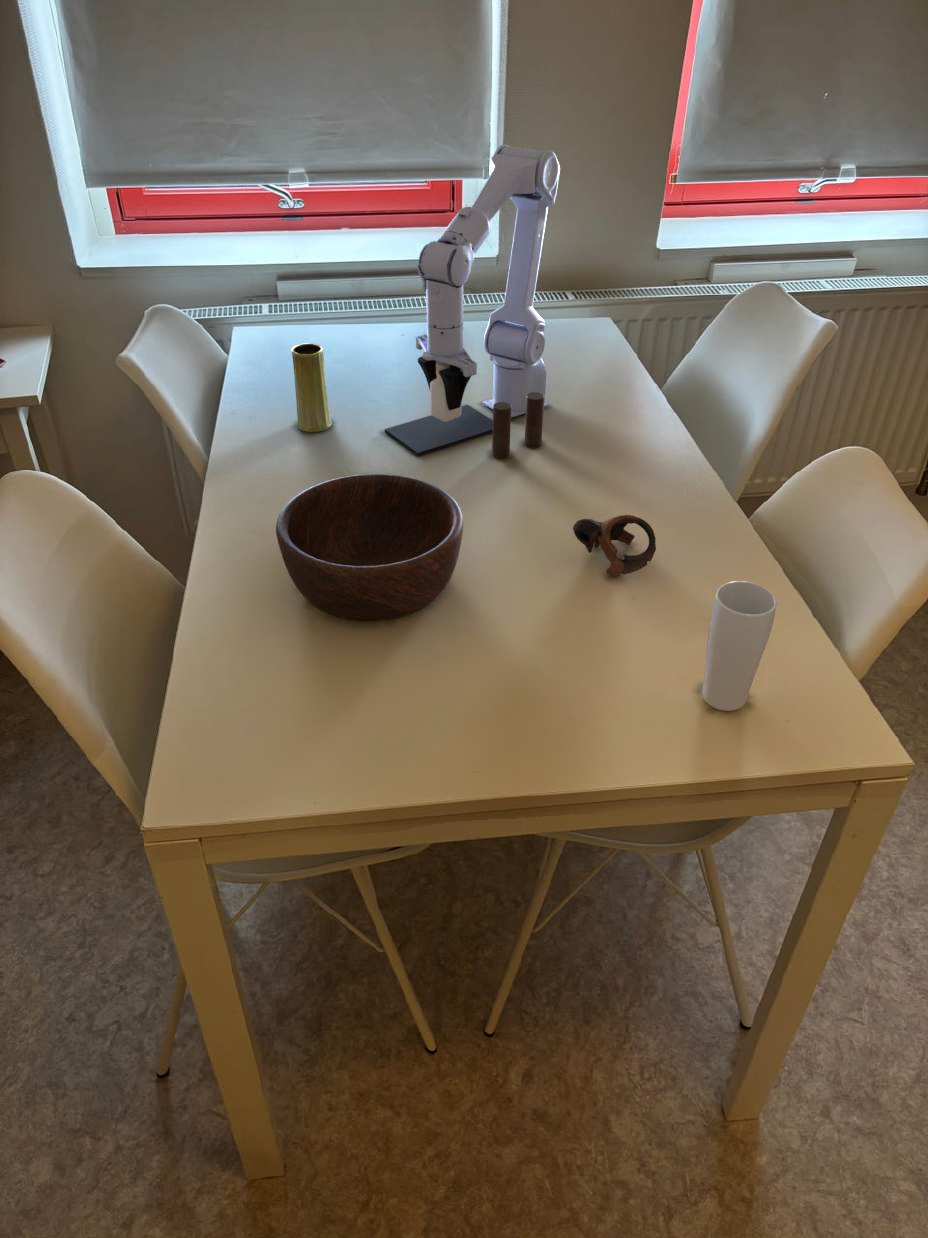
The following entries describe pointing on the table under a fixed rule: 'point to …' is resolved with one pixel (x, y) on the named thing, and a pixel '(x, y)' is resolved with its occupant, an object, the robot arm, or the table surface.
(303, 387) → the vase
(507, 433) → the walnut dowel
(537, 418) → the walnut dowel
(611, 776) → the table surface
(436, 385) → the pepper shaker
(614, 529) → the brown curled ring figurine
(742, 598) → the drinking glass
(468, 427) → the mat
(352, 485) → the wooden bowl
